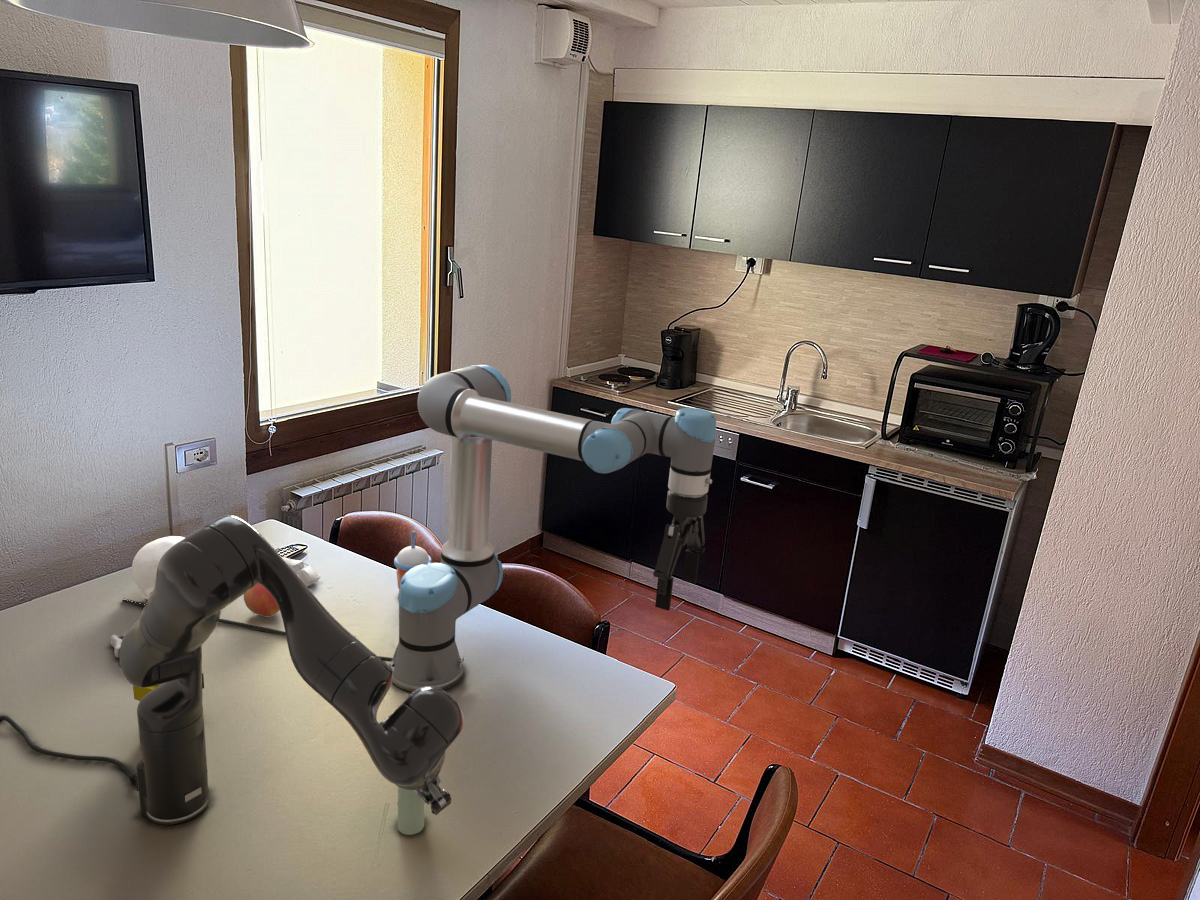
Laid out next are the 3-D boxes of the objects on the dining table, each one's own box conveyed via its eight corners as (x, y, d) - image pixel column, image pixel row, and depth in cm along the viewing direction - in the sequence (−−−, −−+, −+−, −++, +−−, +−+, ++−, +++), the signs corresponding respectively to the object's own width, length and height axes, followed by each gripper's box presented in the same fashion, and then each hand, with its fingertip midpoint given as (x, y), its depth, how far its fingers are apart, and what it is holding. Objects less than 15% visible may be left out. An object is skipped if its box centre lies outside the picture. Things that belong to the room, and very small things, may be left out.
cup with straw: (422, 608, 209) (423, 541, 204) (387, 602, 210) (387, 535, 205) (436, 592, 217) (437, 527, 212) (403, 587, 219) (403, 522, 214)
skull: (197, 623, 194) (195, 558, 190) (119, 603, 200) (115, 540, 196) (237, 600, 207) (236, 539, 203) (163, 582, 212) (160, 522, 208)
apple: (273, 600, 207) (272, 562, 204) (297, 613, 202) (296, 575, 199) (237, 614, 200) (234, 575, 197) (261, 628, 194) (259, 588, 191)
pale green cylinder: (405, 813, 142) (406, 729, 137) (428, 820, 141) (430, 735, 136) (392, 831, 138) (393, 745, 134) (416, 837, 137) (418, 751, 133)
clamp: (253, 565, 223) (254, 542, 221) (265, 560, 226) (266, 537, 224) (309, 593, 215) (310, 569, 213) (320, 588, 218) (321, 564, 216)
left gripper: (356, 727, 108) (361, 746, 122) (421, 823, 104) (419, 831, 118) (407, 690, 111) (406, 713, 125) (472, 782, 107) (463, 794, 122)
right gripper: (681, 516, 147) (669, 626, 153) (728, 478, 168) (716, 576, 174) (642, 506, 150) (631, 614, 156) (693, 470, 171) (682, 566, 178)
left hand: (412, 770), depth 122 cm, fingers open, 8 cm apart
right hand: (676, 594), depth 165 cm, fingers open, 13 cm apart
